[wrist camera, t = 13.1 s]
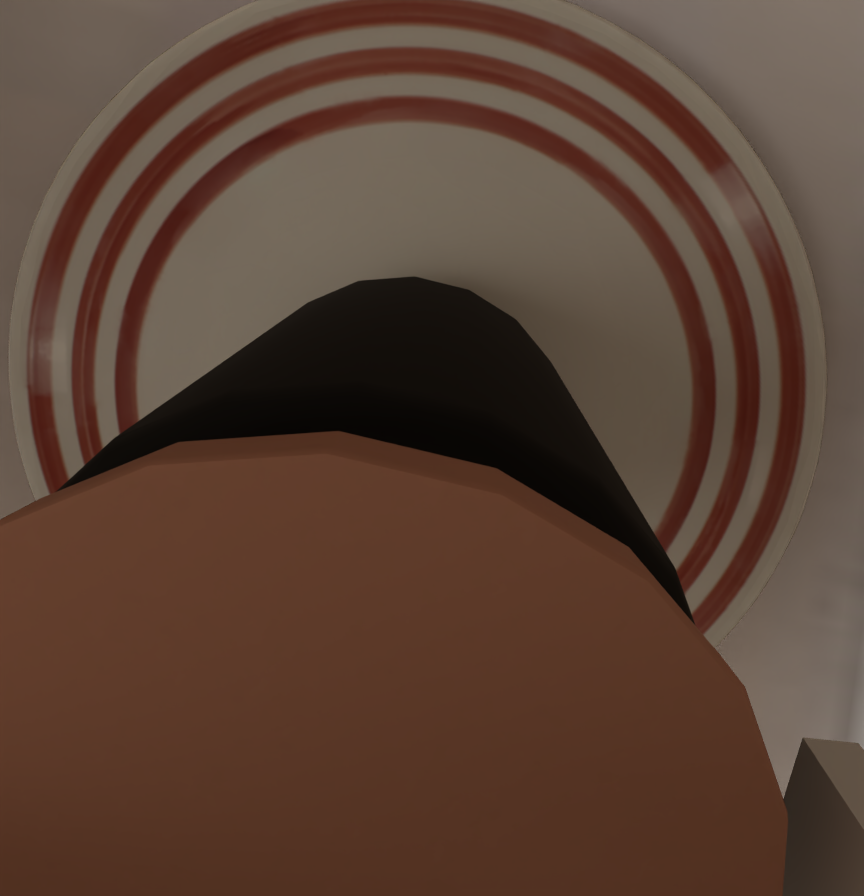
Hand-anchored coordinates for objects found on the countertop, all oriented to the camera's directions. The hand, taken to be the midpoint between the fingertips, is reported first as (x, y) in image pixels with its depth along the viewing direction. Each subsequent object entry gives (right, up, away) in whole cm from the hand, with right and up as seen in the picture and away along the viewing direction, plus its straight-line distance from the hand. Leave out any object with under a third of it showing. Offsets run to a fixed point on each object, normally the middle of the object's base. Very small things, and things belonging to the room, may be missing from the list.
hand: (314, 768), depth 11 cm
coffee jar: (+1, +5, +15) cm, 16 cm away
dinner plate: (+1, +6, +19) cm, 19 cm away
